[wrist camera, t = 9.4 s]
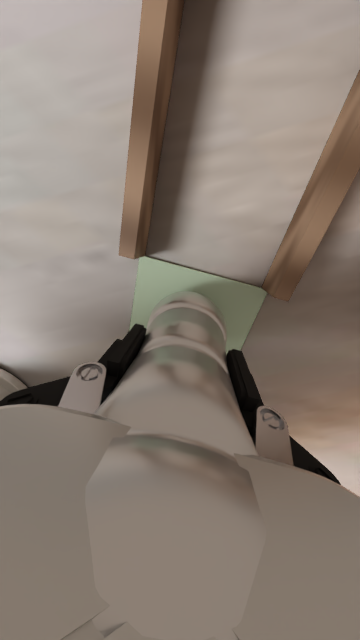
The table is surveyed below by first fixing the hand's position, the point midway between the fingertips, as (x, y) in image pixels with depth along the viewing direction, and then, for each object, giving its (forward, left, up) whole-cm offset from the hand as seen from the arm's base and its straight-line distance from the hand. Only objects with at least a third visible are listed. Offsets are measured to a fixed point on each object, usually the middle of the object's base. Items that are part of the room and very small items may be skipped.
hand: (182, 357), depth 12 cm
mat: (-1, 0, -7) cm, 7 cm away
